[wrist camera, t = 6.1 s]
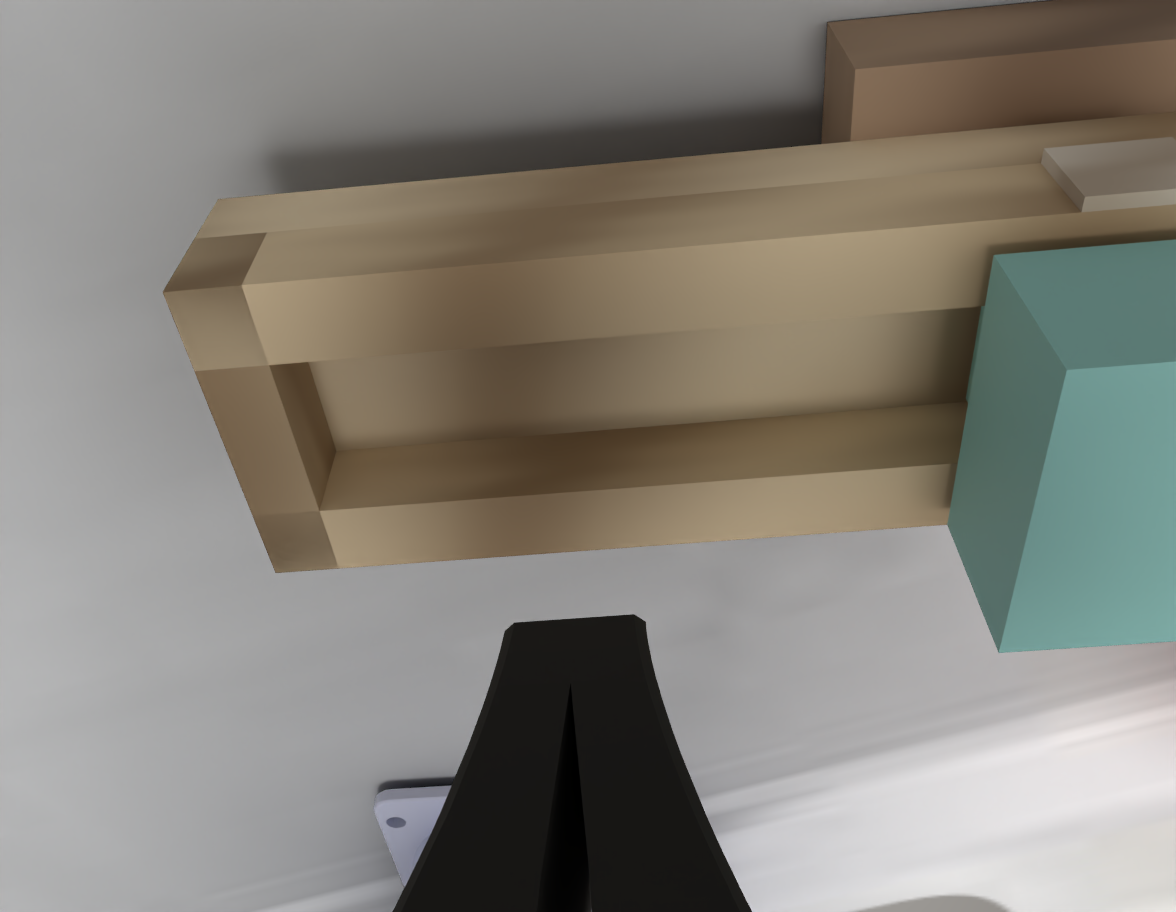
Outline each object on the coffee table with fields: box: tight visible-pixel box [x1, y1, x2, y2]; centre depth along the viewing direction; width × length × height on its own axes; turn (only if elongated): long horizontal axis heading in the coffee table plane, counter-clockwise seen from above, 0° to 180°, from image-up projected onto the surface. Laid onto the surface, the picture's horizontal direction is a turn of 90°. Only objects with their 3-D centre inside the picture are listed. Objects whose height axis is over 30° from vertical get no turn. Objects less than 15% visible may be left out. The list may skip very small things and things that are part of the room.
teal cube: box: [947, 239, 1176, 653], centre depth 13 cm, size 4×4×4 cm
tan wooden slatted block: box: [163, 0, 1176, 573], centre depth 16 cm, size 24×7×5 cm, turn 95°
